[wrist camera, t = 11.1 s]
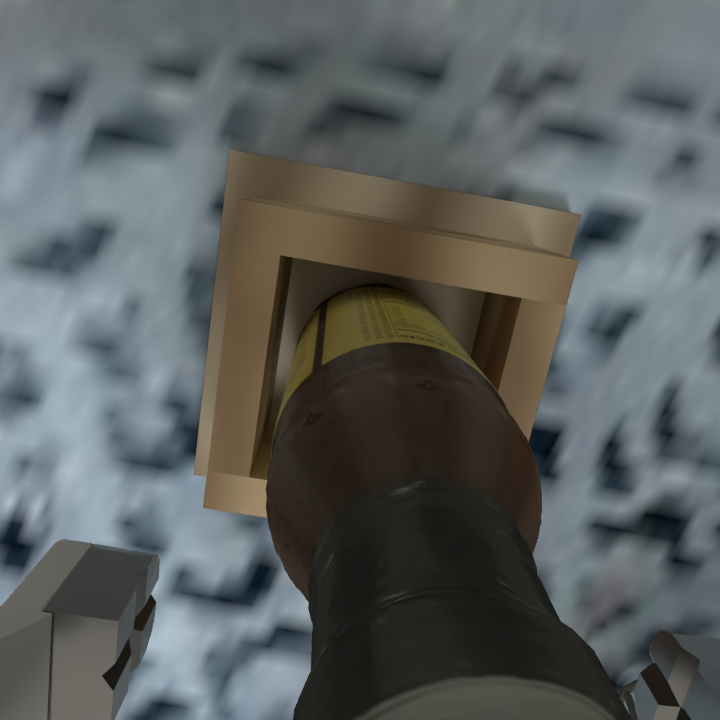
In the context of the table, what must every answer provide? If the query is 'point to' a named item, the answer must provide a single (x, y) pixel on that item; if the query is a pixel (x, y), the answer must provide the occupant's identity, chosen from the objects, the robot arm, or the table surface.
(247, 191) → the square wooden tray
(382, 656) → the sauce bottle
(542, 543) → the table surface
